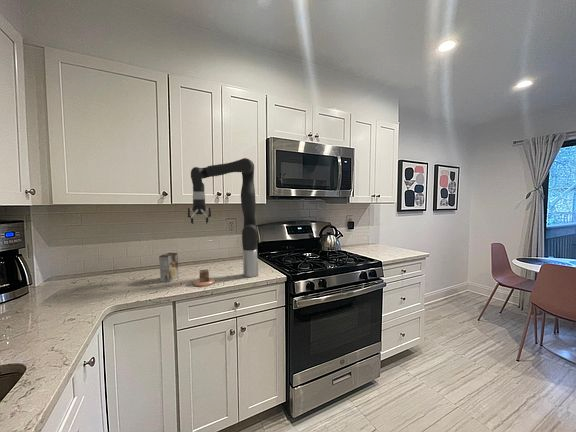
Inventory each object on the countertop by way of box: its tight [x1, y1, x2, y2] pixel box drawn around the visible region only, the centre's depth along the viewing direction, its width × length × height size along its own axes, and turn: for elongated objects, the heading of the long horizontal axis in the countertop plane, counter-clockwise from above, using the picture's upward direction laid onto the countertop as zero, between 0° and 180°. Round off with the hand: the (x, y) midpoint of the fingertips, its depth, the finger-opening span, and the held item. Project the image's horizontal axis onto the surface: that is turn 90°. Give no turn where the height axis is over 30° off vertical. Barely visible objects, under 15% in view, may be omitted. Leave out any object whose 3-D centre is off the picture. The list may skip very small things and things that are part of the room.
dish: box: [193, 277, 216, 288], centre depth 152 cm, size 12×12×2 cm
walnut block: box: [199, 269, 210, 282], centre depth 152 cm, size 5×5×6 cm
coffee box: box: [158, 252, 179, 283], centre depth 159 cm, size 9×6×16 cm
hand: (199, 223), depth 166 cm, fingers open, 8 cm apart
